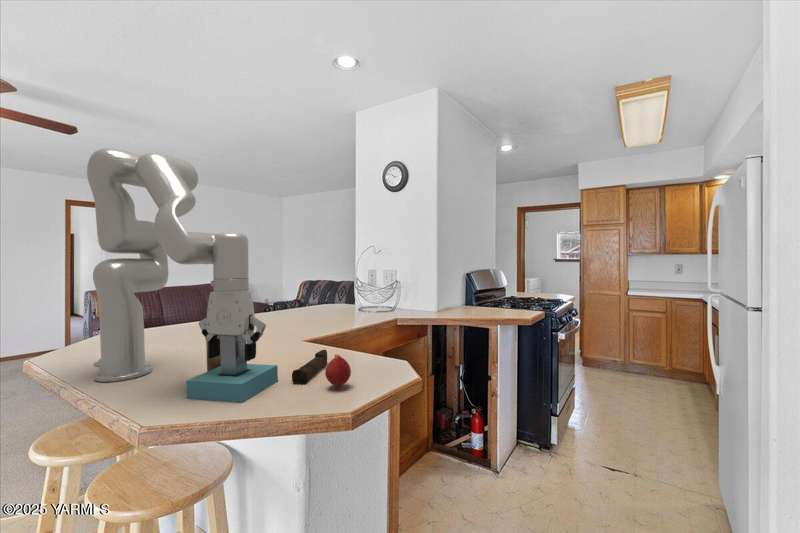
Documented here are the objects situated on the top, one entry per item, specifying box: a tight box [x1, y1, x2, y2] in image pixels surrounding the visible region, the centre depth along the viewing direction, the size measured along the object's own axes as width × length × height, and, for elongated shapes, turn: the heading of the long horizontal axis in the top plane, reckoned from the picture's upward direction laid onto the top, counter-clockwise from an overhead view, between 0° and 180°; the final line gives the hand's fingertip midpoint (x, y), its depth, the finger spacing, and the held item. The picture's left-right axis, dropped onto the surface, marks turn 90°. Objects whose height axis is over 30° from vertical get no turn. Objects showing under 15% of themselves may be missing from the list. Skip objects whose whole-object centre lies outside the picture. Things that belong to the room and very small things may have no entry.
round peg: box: [205, 335, 221, 372], centre depth 98 cm, size 6×6×12 cm
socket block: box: [185, 363, 279, 403], centre depth 87 cm, size 14×14×4 cm
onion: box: [324, 353, 352, 389], centre depth 87 cm, size 6×6×8 cm
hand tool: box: [291, 349, 328, 385], centre depth 99 cm, size 19×4×5 cm, turn 168°
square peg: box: [220, 335, 248, 377], centre depth 87 cm, size 4×4×12 cm
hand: (232, 358), depth 87 cm, fingers open, 9 cm apart
